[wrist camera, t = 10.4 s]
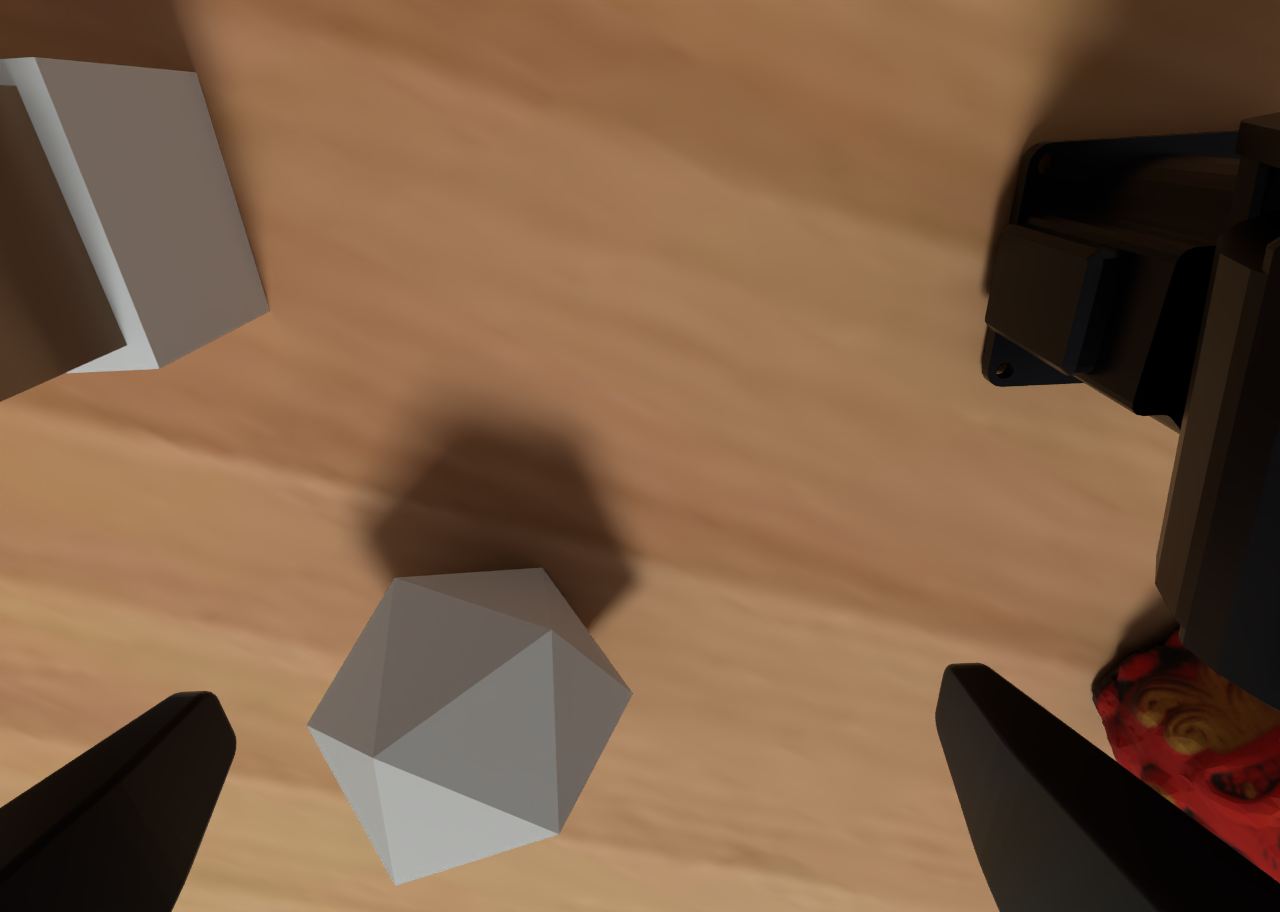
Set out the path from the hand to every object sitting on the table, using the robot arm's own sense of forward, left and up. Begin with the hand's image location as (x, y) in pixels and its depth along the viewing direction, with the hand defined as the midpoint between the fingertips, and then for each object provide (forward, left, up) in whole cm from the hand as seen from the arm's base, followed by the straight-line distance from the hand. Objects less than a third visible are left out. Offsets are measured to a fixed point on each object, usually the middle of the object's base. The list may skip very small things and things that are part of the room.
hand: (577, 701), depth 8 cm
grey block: (+13, -5, -13) cm, 19 cm away
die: (+5, +10, -13) cm, 17 cm away
